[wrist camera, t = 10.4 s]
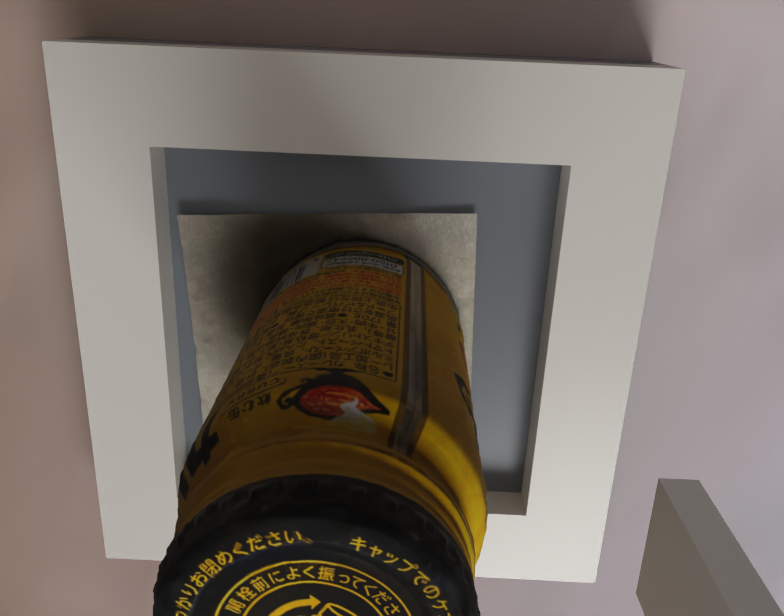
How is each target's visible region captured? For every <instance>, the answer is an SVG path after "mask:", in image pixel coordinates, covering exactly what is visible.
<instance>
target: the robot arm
mask: <svg viewBox="0 0 784 616" xmlns="http://www.w3.org/2000/svg"><path fill="white" fill-rule="evenodd" d="M636 594H637V597H638V599H639V602H640V604H641V607H642V609H643V612H644V614H645V616H784V614H783V613H782V611H781V610H780V608H779V606H778V605H777V603H776V602H775V600H774V598H773V597H772V595H771V594H770V592H769V591H768V589H767V587H766V586H765V584H764V583H763V581H762V579H761V578H760V576H759V575H758V573H757V572H756V570H755V568H754V567H753V565H752V564H751V562H750V560H749V559H748V557H747V556H746V554H745V553H744V551H743V549H742V548H741V546H740V545H739V543H738V541H737V540H736V538H735V537H734V535H733V534H732V532H731V530H730V529H729V527H728V526H727V524H726V522H725V521H724V519H723V518H722V516H721V515H720V513H719V511H718V510H717V508H716V507H715V505H714V503H713V502H712V500H711V499H710V497H709V496H708V494H707V492H706V491H705V489H704V488H703V486H702V484H701V483H700V481H699V480H685V479H662V478H659V479H658V484H657V490H656V495H655V500H654V505H653V510H652V515H651V520H650V525H649V530H648V535H647V540H646V545H645V550H644V555H643V560H642V565H641V570H640V575H639V580H638V585H637V590H636Z"/></svg>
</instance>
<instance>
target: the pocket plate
mask: <svg viewBox="0 0 784 616" xmlns="http://www.w3.org/2000/svg"><path fill="white" fill-rule="evenodd" d="M42 48H43V56H44V64H45V72H46V80H47V88H48V96H49V104H50V112H51V120H52V128H53V136H54V144H55V152H56V160H57V168H58V176H59V184H60V192H61V200H62V208H63V216H64V224H65V232H66V240H67V248H68V256H69V264H70V272H71V280H72V288H73V296H74V304H75V312H76V320H77V328H78V336H79V344H80V352H81V360H82V368H83V376H84V384H85V392H86V400H87V408H88V416H89V424H90V432H91V440H92V448H93V456H94V464H95V472H96V480H97V488H98V496H99V504H100V512H101V520H102V528H103V536H104V544H105V552H106V558H121V559H140V560H160V561H162V560H163V559H164V557H165V555H166V550H167V547H168V546H169V545H170V543H171V541H172V540H173V538H174V533H175V526H176V522H177V519H178V511H177V510H178V488H179V483H180V474H181V472H182V470H183V468H184V465H185V462H186V459H187V457H188V455H189V452H190V450H191V446H192V444H193V442H194V441H195V440H196V437H197V435H198V434H199V431H200V429H201V427H202V425H203V419H202V410H201V396H200V389H199V383H198V374H197V372H198V371H197V366H196V345H195V343H194V338H193V329H192V320H191V310H190V303H189V297H188V289H187V282H186V273H185V266H184V259H183V249H182V244H181V240H180V234H179V225H178V219H177V215H229V214H288V215H305V214H323V213H324V214H340V213H353V214H359V213H393V214H402V213H450V214H477V238H476V264H475V288H474V316H473V345H472V375H471V395H472V396H471V400H472V403H473V415H474V420H475V423H476V429H477V439H478V445H479V454H480V457H481V465H482V473H483V476H484V479H485V482H486V492H487V495H486V501H487V511H488V516H487V530H486V533H485V536H484V541H483V546H482V549H481V552H480V557H479V559H478V561H477V563H476V566H475V577H490V578H509V579H528V580H548V581H567V582H587V583H595V579H596V574H597V568H598V562H599V557H600V551H601V545H602V540H603V534H604V528H605V523H606V517H607V512H608V506H609V500H610V495H611V489H612V483H613V478H614V472H615V466H616V461H617V455H618V449H619V444H620V438H621V432H622V427H623V421H624V415H625V410H626V404H627V398H628V393H629V387H630V381H631V376H632V370H633V364H634V359H635V353H636V347H637V342H638V336H639V330H640V325H641V319H642V313H643V308H644V302H645V296H646V291H647V285H648V279H649V274H650V268H651V262H652V257H653V251H654V245H655V240H656V234H657V228H658V223H659V217H660V211H661V206H662V200H663V194H664V189H665V183H666V177H667V172H668V166H669V160H670V155H671V149H672V144H673V138H674V132H675V127H676V121H677V115H678V110H679V104H680V98H681V93H682V87H683V81H684V76H685V70H686V69H683V68H678V67H674V66H669V65H665V64H660V63H655V62H641V61H618V60H596V59H573V58H550V57H527V56H504V55H482V54H459V53H436V52H413V51H390V50H368V49H345V48H322V47H299V46H276V45H253V44H231V43H208V42H185V41H162V40H139V39H117V38H94V37H81V38H70V39H58V40H46V41H42Z"/></svg>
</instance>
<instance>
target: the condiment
mask: <svg viewBox="0 0 784 616" xmlns="http://www.w3.org/2000/svg"><path fill="white" fill-rule="evenodd" d="M177 219H178V225H179V234H180V240H181V244H182V249H183V259H184V266H185V273H186V282H187V289H188V297H189V303H190V310H191V320H192V329H193V338H194V343H195V345H196V366H197V371H198V372H197V374H198V383H199V389H200V396H201V410H202V419H203V425H202V427H201V429H200V431H199V434H198V435H197V437H196V440H195V441H194V442H193V444H192V446H191V450H190V452H189V455H188V457H187V459H186V462H185V465H184V468H183V470H182V472H181V474H180V483H179V488H178V510H177V511H178V519H177V522H176V526H175V533H174V538H173V540H172V541H171V543H170V545H169V546H168V547H167V550H166V555H165V557H164V559H163V560H162V562H161V563H160V565H159V572H158V575H157V582H156V584H155V585H154V589H153V592H154V605H153V616H480V611H479V608H478V602H477V598H478V597H477V594H476V591H475V587H474V578H475V566H476V563H477V561H478V559H479V557H480V552H481V549H482V546H483V541H484V536H485V533H486V530H487V516H488V511H487V501H486V495H487V492H486V482H485V479H484V476H483V473H482V465H481V457H480V454H479V445H478V439H477V429H476V423H475V420H474V415H473V403H472V400H471V396H472V395H471V375H472V345H473V316H474V288H475V264H476V238H477V214H450V213H402V214H393V213H359V214H353V213H340V214H324V213H323V214H305V215H288V214H229V215H177Z"/></svg>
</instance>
